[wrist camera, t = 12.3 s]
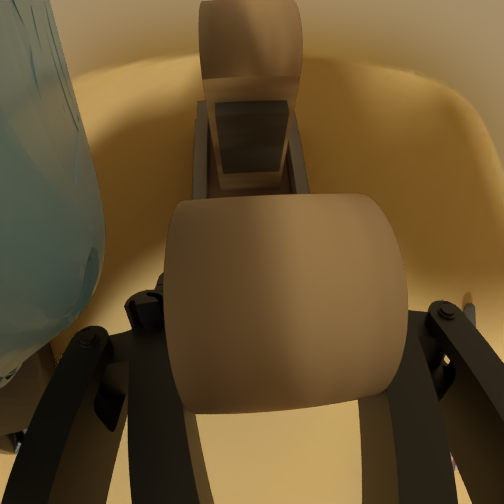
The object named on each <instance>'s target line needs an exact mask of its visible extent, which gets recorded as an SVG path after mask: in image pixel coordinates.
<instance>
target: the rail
mask: <svg viewBox="0 0 504 504" xmlns="http://www.w3.org/2000/svg"><path fill="white" fill-rule="evenodd" d="M199 52H200V63H201V72H202V80H203V86H204V93H205V99H206V101H198V105H197V119H195V134H194V153H193V179H192V200H197V199H211V198H226V197H243V196H263V195H289V194H310V193H309V187H308V181H307V175H306V169H305V163H304V157H303V152H302V147H301V141H300V136H299V131H298V126H297V121H296V116H295V111H294V107H295V102H296V96H297V91H298V85H299V79H300V73H301V65H302V27H301V19H300V14H299V10H298V7H297V4H296V2H295V1H294V0H212V1H202V2H201V4H200V9H199Z"/></svg>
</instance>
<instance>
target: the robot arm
mask: <svg viewBox="0 0 504 504" xmlns="http://www.w3.org/2000/svg"><path fill="white" fill-rule="evenodd" d="M105 246H106V230H105V217H104V211H103V204H102V198H101V194H100V189H99V184H98V180H97V175H96V171H95V167H94V164H93V160H92V156H91V152H90V148H89V145H88V141H87V137H86V133H85V130H84V126H83V123H82V119H81V116H80V112H79V109H78V105H77V101H76V97H75V94H74V90H73V87H72V83H71V79H70V76H69V72H68V68H67V64H66V61H65V57H64V54H63V50H62V46H61V42H60V38H59V35H58V31H57V27H56V23H55V19H54V16H53V12H52V8H51V4H50V0H0V453H1V454H9V455H14V454H17V456H16V459H15V462H14V464H13V467H12V470H11V473H10V476H9V479H8V482H7V485H6V489H5V492H4V495H3V499H2V502H1V504H106V501H107V496H108V491H109V487H110V482H111V478H112V473H113V469H114V465H115V461H116V456H117V452H118V448H119V444H120V441H121V437H122V433H123V429H124V425H125V422H126V418H127V415H128V457H129V475H130V488H131V499H132V504H214V501H213V497H212V493H211V489H210V485H209V480H208V476H207V471H206V467H205V462H204V457H203V453H202V448H201V443H200V437H199V432H198V427H197V421H196V415H195V414H192V413H190V412H189V411H188V410H187V409H186V407H185V406H184V404H183V402H182V400H181V398H180V396H179V393H178V390H177V387H176V384H175V381H174V377H173V373H172V369H171V364H170V359H169V354H168V347H167V340H166V332H165V320H164V299H163V279H164V272H163V273H162V274H161V275H160V276H159V279H158V281H157V284H156V285H157V286H156V287H155V289H154V290H145V291H141V292H138V293H136V294H134V295H132V296H131V297H130V298H129V299H128V300H127V301H126V303H125V306H124V307H125V310H126V313H127V316H128V319H129V321H130V324H131V327H132V329H131V330H129V331H126V332H123V333H119V334H114V335H110V336H109V335H108V332H107V330H105V329H104V328H103V327H100V326H89V327H86V328H83V329H81V330H80V331H79V332H77V333H76V334H75V335H74V337H73V338H72V340H71V341H70V343H69V345H68V347H67V349H66V350H65V352H64V354H63V356H62V358H61V360H60V361H59V363H58V365H57V367H56V369H55V365H54V361H53V356H52V352H51V349H50V346H49V341H51V340H52V339H53V338H55V337H56V336H57V335H59V334H60V333H61V332H63V331H64V330H65V329H67V328H68V327H69V326H70V325H71V324H72V323H73V322H74V321H75V320H76V319H77V318H78V317H79V315H80V314H81V313H82V312H83V310H84V309H85V308H86V307H87V305H88V303H89V302H90V300H91V298H92V296H93V295H94V293H95V290H96V288H97V285H98V282H99V279H100V277H101V273H102V269H103V263H104V255H105ZM446 355H447V357H448V358H449V360H450V363H449V364H447V363H446V362H445V361H444V358H445V356H446ZM358 406H359V419H360V435H361V456H362V504H458V499H457V491H456V484H455V477H454V471H453V465H452V459H451V455H452V457H453V459H454V461H455V464H456V466H457V468H458V470H459V473H460V475H461V477H462V480H463V482H464V485H465V487H466V489H467V492H468V494H469V497H470V499H471V502H472V504H504V363H503V362H502V361H501V359H500V358H499V357H498V355H497V354H496V353H495V351H494V350H493V349H492V348H491V346H490V345H489V344H488V342H487V341H486V340H485V339H484V337H483V336H482V335H481V334H480V332H479V331H478V330H477V329H476V327H475V326H474V325H473V324H472V323H471V321H470V320H469V319H468V318H467V317H466V316H465V314H464V313H463V312H462V311H461V310H460V309H459V308H458V307H457V306H456V305H454V304H452V303H450V302H448V301H443V300H442V301H435V302H433V303H432V304H431V305H430V306H429V309H428V312H421V311H411V310H408V324H407V334H406V341H405V347H404V351H403V355H402V359H401V362H400V364H399V367H398V370H397V372H396V374H395V376H394V378H393V380H392V382H391V383H390V384H389V385H388V387H387V388H386V389H385V390H384V391H383V392H381V393H380V394H378V395H376V396H372V397H367V398H362V399H358ZM450 453H451V454H450Z"/></svg>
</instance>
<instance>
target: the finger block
mask: <svg viewBox="0 0 504 504" xmlns="http://www.w3.org/2000/svg"><path fill="white" fill-rule="evenodd" d="M163 299H164V320H165V332H166V340H167V347H168V354H169V359H170V364H171V369H172V373H173V377H174V381H175V384H176V387H177V390H178V393H179V396H180V398H181V400H182V402H183V404H184V406H185V407H186V409H187V410H188V411H189V412H190V413H192V414H238V413H257V412H271V411H282V410H292V409H300V408H308V407H316V406H323V405H329V404H335V403H341V402H347V401H352V400H357V399H362V398H367V397H372V396H376V395H378V394H380V393H381V392H383V391H384V390H385V389H386V388H387V387H388V385H389V384H390V383H391V382H392V380H393V378H394V376H395V374H396V372H397V370H398V367H399V364H400V362H401V359H402V355H403V351H404V347H405V341H406V334H407V324H408V292H407V283H406V275H405V269H404V265H403V260H402V255H401V252H400V249H399V245H398V242H397V239H396V237H395V234H394V232H393V229H392V227H391V225H390V223H389V221H388V219H387V217H386V216H385V214H384V212H383V211H382V210H381V208H380V207H379V206H378V204H377V203H376V202H375V201H374V200H372V199H371V198H370V197H368V196H367V195H364V194H361V193H332V194H289V195H263V196H243V197H226V198H211V199H197V200H184V201H181V202H179V203H178V204H177V206H176V207H175V210H174V212H173V215H172V218H171V221H170V225H169V230H168V235H167V242H166V249H165V260H164V279H163Z"/></svg>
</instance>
